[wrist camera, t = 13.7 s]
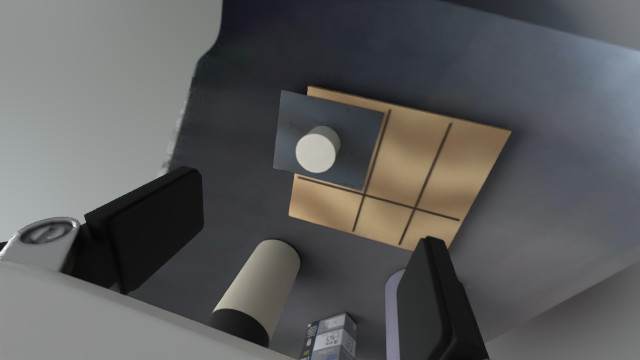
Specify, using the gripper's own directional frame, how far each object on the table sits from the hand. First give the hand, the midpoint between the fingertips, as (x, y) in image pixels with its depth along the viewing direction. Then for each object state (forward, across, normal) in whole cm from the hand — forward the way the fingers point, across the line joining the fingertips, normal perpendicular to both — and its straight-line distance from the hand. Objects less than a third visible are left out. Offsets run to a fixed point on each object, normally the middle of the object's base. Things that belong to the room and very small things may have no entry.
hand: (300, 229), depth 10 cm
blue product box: (+22, -5, +37) cm, 43 cm away
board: (+22, -3, +6) cm, 23 cm away
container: (+22, -16, +23) cm, 36 cm away
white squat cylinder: (+20, +3, +3) cm, 21 cm away
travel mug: (+22, +7, +25) cm, 34 cm away
